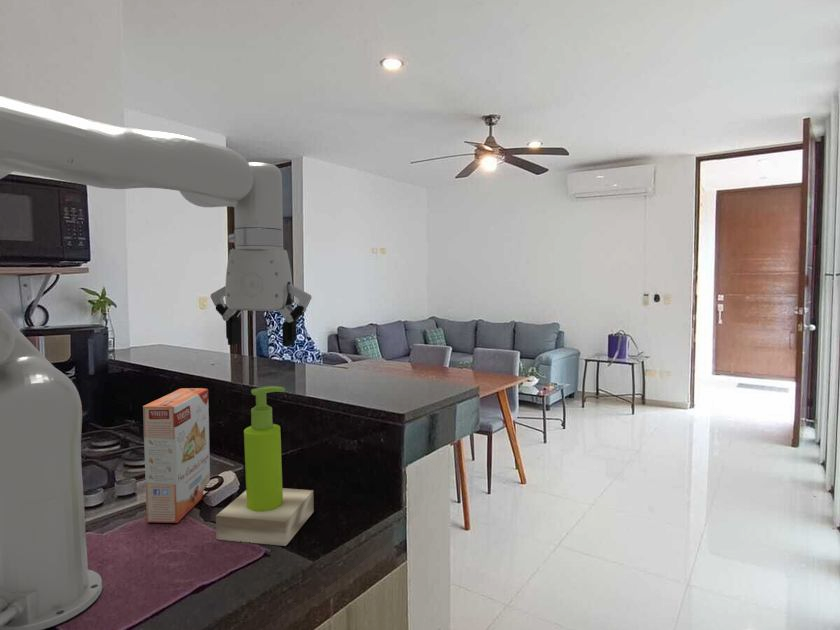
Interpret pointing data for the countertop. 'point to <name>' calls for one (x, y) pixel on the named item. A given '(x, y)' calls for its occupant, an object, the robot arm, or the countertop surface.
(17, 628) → the robot arm
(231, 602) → the countertop surface
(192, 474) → the cracker box
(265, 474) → the soap dispenser
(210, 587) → the countertop surface
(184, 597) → the countertop surface
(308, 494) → the birch stand
